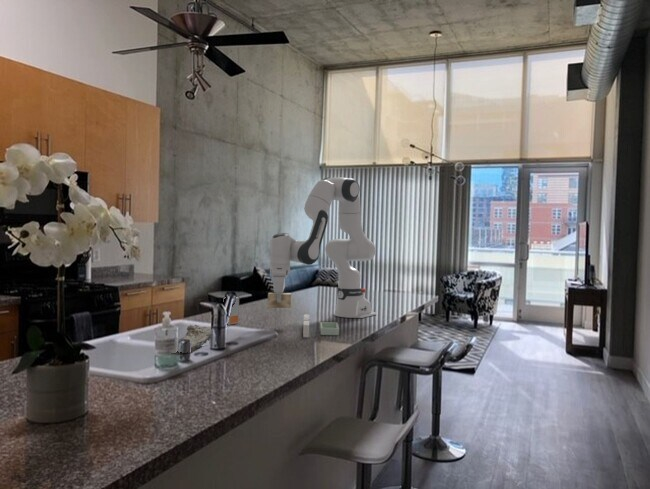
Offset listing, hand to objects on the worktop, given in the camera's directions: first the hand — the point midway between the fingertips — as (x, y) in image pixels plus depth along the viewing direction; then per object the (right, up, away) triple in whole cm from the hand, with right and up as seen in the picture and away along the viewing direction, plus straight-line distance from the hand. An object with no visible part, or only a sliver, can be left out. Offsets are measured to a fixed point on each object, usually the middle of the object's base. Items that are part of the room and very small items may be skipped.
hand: (279, 301), depth 230 cm
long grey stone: (-29, -13, -33) cm, 46 cm away
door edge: (+12, -12, -6) cm, 18 cm away
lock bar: (0, -3, 0) cm, 3 cm away
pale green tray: (+22, -12, -7) cm, 26 cm away
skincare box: (-23, -11, +6) cm, 26 cm away
